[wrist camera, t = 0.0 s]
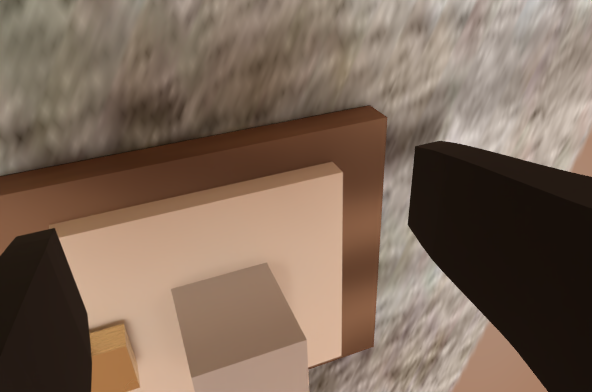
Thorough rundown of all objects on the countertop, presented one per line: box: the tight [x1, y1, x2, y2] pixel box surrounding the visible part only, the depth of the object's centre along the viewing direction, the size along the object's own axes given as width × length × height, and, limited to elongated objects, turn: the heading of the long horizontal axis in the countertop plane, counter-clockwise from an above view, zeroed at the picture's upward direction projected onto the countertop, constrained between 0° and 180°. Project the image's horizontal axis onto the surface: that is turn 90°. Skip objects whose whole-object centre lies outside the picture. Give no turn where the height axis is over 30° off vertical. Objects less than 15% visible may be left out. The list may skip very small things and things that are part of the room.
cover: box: [49, 162, 343, 392], centre depth 19 cm, size 11×11×6 cm
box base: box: [0, 106, 387, 369], centre depth 20 cm, size 14×24×4 cm, turn 93°
